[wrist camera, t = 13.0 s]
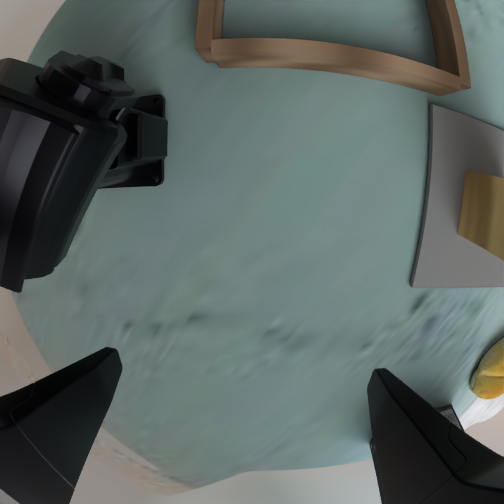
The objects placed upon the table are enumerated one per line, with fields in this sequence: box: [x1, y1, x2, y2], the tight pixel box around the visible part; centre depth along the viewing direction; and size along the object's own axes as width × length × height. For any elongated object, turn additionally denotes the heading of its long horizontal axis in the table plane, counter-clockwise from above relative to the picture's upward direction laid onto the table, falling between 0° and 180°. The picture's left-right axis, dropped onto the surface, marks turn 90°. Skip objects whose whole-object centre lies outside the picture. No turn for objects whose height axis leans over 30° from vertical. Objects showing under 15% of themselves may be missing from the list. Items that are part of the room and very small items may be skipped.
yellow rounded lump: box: [470, 337, 504, 399], centre depth 20 cm, size 8×9×4 cm
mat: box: [410, 104, 504, 288], centre depth 17 cm, size 12×14×1 cm
